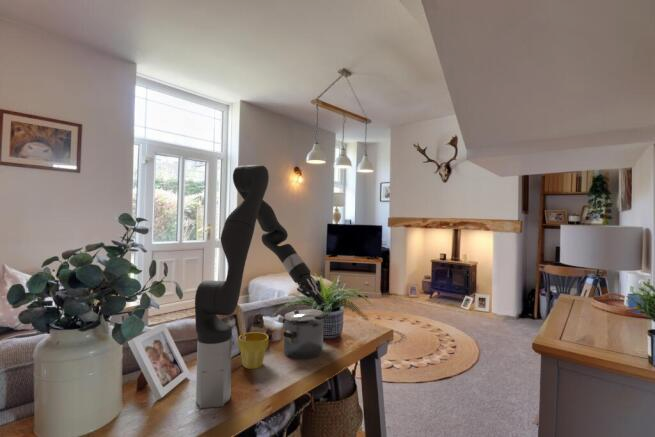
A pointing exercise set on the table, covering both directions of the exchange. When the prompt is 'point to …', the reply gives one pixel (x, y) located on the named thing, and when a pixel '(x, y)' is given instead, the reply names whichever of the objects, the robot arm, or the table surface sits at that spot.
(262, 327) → the figurine
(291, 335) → the cooker pot
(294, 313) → the cooker lid
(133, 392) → the table surface
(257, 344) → the plant pot
